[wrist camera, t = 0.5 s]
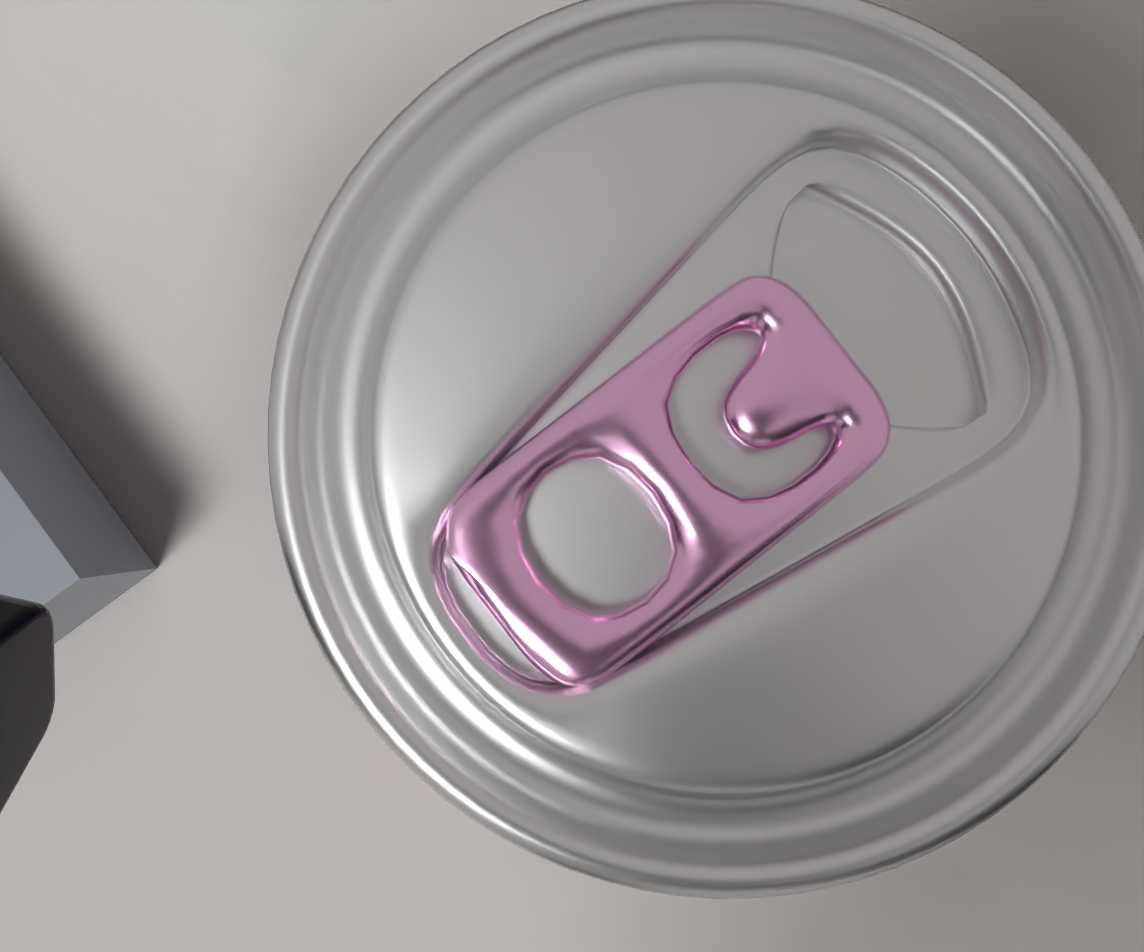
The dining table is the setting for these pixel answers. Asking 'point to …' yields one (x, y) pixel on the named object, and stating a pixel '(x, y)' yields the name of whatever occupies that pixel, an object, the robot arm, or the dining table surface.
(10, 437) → the tray
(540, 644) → the beverage can
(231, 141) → the dining table surface
